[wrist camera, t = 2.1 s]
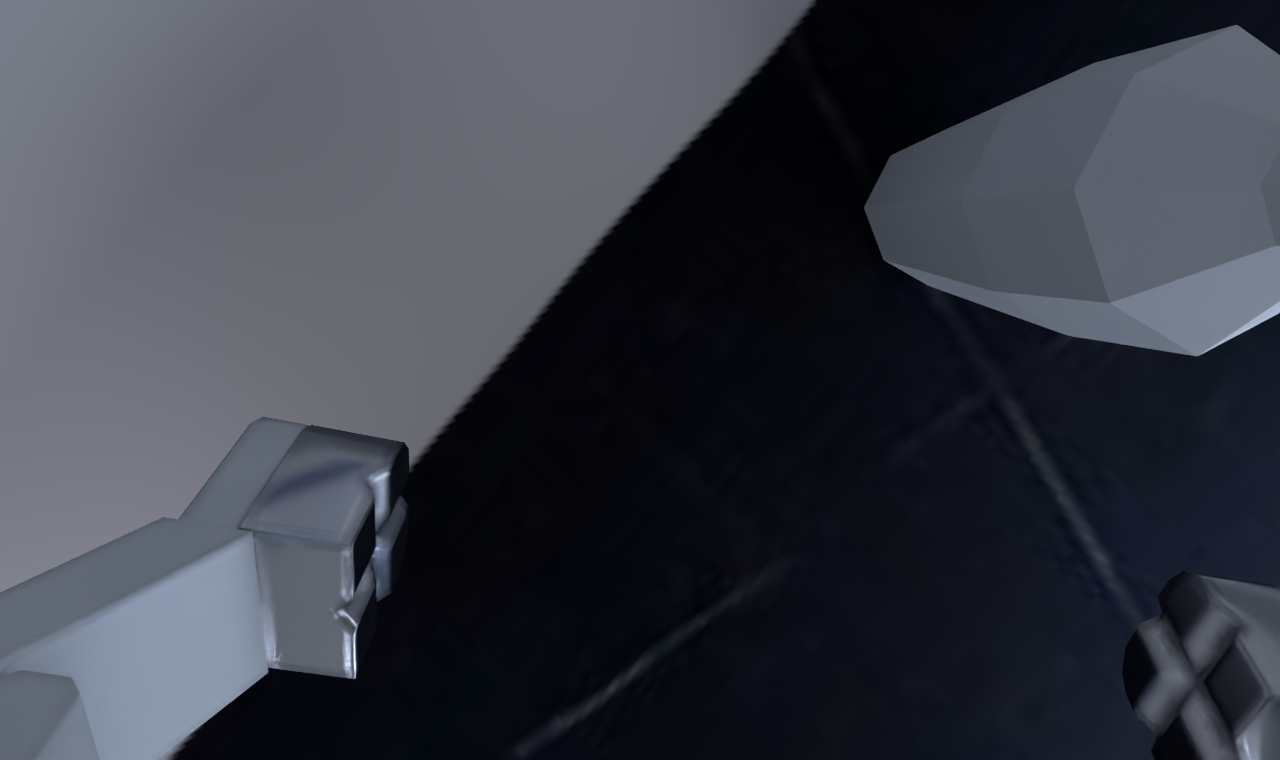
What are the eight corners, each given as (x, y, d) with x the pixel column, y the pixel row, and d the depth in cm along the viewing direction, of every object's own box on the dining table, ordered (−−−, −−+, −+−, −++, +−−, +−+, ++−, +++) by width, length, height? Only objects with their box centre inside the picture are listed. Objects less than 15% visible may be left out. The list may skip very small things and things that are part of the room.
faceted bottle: (923, 347, 30) (2044, 610, 9) (803, 205, 29) (1823, 119, 7) (1055, 214, 31) (2451, 165, 9) (944, 66, 29) (2320, -404, 8)
